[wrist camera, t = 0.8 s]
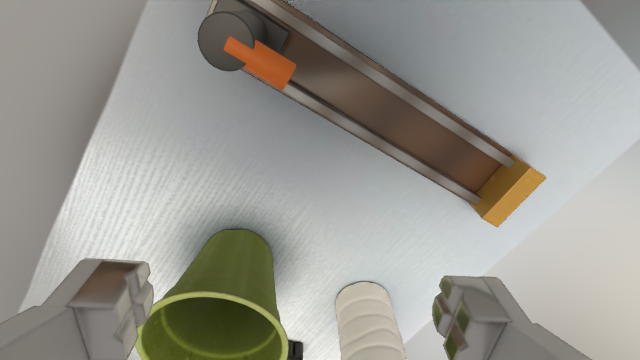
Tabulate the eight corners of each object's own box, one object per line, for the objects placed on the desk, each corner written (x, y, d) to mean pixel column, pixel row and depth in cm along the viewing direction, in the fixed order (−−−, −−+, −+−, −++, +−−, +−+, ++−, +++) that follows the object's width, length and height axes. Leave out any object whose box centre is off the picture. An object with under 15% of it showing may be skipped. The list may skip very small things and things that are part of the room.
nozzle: (212, 30, 25) (166, 42, 17) (228, -9, 24) (189, -17, 16) (284, 74, 27) (275, 104, 18) (303, 39, 26) (303, 54, 17)
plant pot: (192, 193, 33) (144, 276, 23) (307, 226, 35) (309, 314, 25) (171, 281, 38) (124, 380, 28) (273, 305, 40) (264, 404, 30)
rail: (202, 43, 27) (192, 47, 25) (234, -33, 25) (227, -37, 22) (484, 209, 35) (497, 223, 33) (527, 163, 33) (544, 175, 31)
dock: (467, 201, 34) (481, 218, 31) (511, 153, 31) (531, 167, 29) (482, 210, 34) (497, 227, 31) (526, 163, 32) (547, 177, 29)
